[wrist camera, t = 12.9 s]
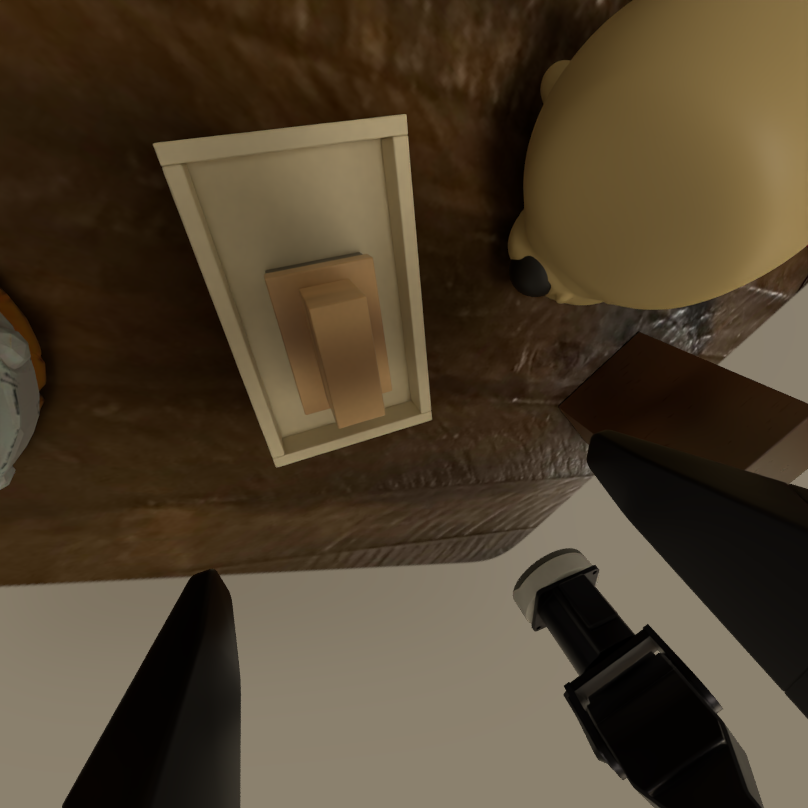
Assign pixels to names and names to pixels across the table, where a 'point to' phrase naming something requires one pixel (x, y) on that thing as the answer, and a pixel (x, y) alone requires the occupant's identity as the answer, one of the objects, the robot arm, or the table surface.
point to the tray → (305, 256)
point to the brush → (333, 335)
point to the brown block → (693, 409)
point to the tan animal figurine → (668, 156)
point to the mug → (17, 385)
